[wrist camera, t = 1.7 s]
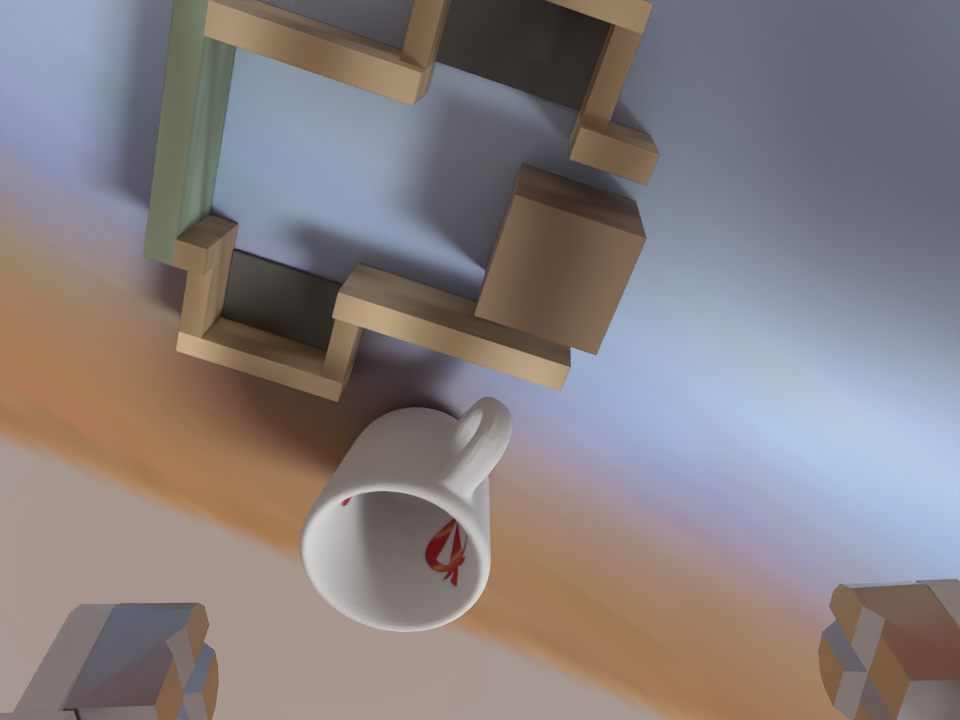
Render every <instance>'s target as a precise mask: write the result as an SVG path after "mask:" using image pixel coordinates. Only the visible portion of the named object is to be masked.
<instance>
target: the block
mask: <svg viewBox="0 0 960 720" xmlns="http://www.w3.org/2000/svg"><path fill="white" fill-rule="evenodd" d="M645 241H646V235H645V232H644V228H643V225H642V221H641V218H640V214H639V211H638V207H637V204H636V201H633V200H630V199H627V198H624V197H621V196H618V195H615V194H612V193H609V192H606V191H603V190H600V189H597V188H594V187H591V186H588V185H585V184H582V183H579V182H576V181H573V180H570V179H567V178H565V177H562V176H559V175H556V174H553V173H550V172H547V171H544V170H541V169H538V168H535V167H532V166H529V165H526V164H523V163H522V164H521V167H520V170H519V173H518V176H517V179H516V182H515V185H514V188H513V191H512V194H511V197H510V200H509V203H508V206H507V209H506V212H505V215H504V218H503V221H502V224H501V227H500V230H499V233H498V236H497V239H496V242H495V245H494V248H493V251H492V254H491V257H490V259H489V262H488V265H487V268H486V271H485V275H484V279H483V283H482V287H481V291H480V295H479V299H478V303H477V307H476V311H475V315H474V316H477V317H480V318H484V319H487V320H490V321H493V322H496V323H499V324H502V325H505V326H508V327H511V328H514V329H517V330H520V331H523V332H527V333H530V334H533V335H536V336H539V337H542V338H545V339H548V340H551V341H554V342H557V343H560V344H563V345H566V346H570V347H573V348H576V349H579V350H582V351H585V352H588V353H591V354H594V355H597V352H598V350H599V348H600V345H601V343H602V341H603V338H604V336H605V334H606V331H607V329H608V327H609V324H610V322H611V320H612V317H613V315H614V313H615V311H616V308H617V306H618V304H619V301H620V299H621V297H622V294H623V292H624V290H625V287H626V285H627V283H628V280H629V278H630V276H631V273H632V271H633V269H634V266H635V264H636V262H637V259H638V257H639V255H640V252H641V250H642V248H643V245H644V243H645Z"/></svg>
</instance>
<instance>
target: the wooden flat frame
mask: <svg viewBox="0 0 960 720" xmlns="http://www.w3.org/2000/svg"><path fill="white" fill-rule="evenodd" d="M653 6H654V4H652V3H650V2H648V1H646V0H415V1H414V5H413V9H412V13H411V17H410V21H409V25H408V29H407V33H406V37H405V41H404V45H403V49H402V50H400V49H397V48H395V47H392V46H389V45H386V44H383V43H380V42H377V41H374V40H371V39H368V38H365V37H362V36H360V35H357V34H354V33H351V32H348V31H345V30H342V29H339V28H336V27H333V26H330V25H327V24H325V23H322V22H319V21H316V20H313V19H310V18H307V17H304V16H301V15H298V14H295V13H292V12H290V11H287V10H284V9H281V8H278V7H275V6H272V5H269V4H266V3H263V2H260V1H257V0H174V3H173V12H172V20H171V29H170V37H169V45H168V54H167V62H166V71H165V79H164V88H163V96H162V105H161V113H160V121H159V130H158V138H157V147H156V155H155V164H154V172H153V181H152V189H151V197H150V206H149V214H148V223H147V231H146V240H145V248H144V257H146V258H149V259H152V260H155V261H158V262H161V263H164V264H167V265H170V266H173V267H177V268H180V269H183V270H186V271H188V273H187V280H186V286H185V293H184V300H183V307H182V313H181V320H180V327H179V334H178V341H177V347H176V351H178V352H181V353H185V354H188V355H191V356H194V357H197V358H200V359H204V360H207V361H210V362H213V363H216V364H219V365H223V366H226V367H229V368H232V369H235V370H238V371H241V372H245V373H248V374H251V375H254V376H257V377H260V378H264V379H267V380H270V381H273V382H276V383H279V384H283V385H286V386H289V387H292V388H295V389H298V390H301V391H305V392H308V393H311V394H314V395H317V396H320V397H324V398H327V399H330V400H333V401H336V402H338V400H339V398H340V396H341V394H342V393H343V391H344V389H345V387H346V385H347V383H348V381H349V379H350V377H351V374H352V370H353V366H354V363H355V359H356V355H357V351H358V348H359V344H360V340H361V337H362V333H363V329H364V328H366V329H369V330H372V331H375V332H378V333H381V334H384V335H387V336H391V337H394V338H397V339H400V340H403V341H406V342H409V343H412V344H415V345H418V346H422V347H425V348H428V349H431V350H434V351H437V352H440V353H443V354H446V355H450V356H453V357H456V358H459V359H462V360H465V361H468V362H471V363H474V364H477V365H481V366H484V367H487V368H490V369H493V370H496V371H499V372H502V373H505V374H508V375H512V376H515V377H518V378H521V379H524V380H527V381H530V382H533V383H536V384H539V385H543V386H546V387H549V388H552V389H555V390H558V391H561V389H562V387H563V385H564V382H565V380H566V377H567V375H568V373H569V370H570V368H571V357H570V346H566V345H563V344H560V343H557V342H554V341H551V340H548V339H545V338H542V337H539V336H536V335H533V334H530V333H527V332H523V331H520V330H517V329H514V328H511V327H508V326H505V325H502V324H499V323H496V322H493V321H490V320H487V319H484V318H480V317H477V316H474V315H475V311H476V307H477V303H478V302H476V301H473V300H470V299H467V298H464V297H461V296H458V295H455V294H452V293H449V292H446V291H443V290H440V289H437V288H433V287H430V286H427V285H424V284H421V283H418V282H415V281H412V280H409V279H406V278H403V277H400V276H397V275H394V274H391V273H388V272H384V271H381V270H378V269H375V268H372V267H369V266H366V265H363V264H360V263H358V264H357V265H356V266H355V268H354V269H353V271H352V272H351V274H350V275H349V277H348V278H347V280H346V281H345V283H344V284H343V285H342V284H339V283H336V282H333V281H330V280H327V279H324V278H321V277H318V276H314V275H311V274H308V273H305V272H302V271H299V270H296V269H293V268H290V267H287V266H284V265H281V264H278V263H274V262H271V261H268V260H265V259H262V258H259V257H256V256H253V255H250V254H247V253H244V252H241V251H238V250H234V247H235V241H236V235H237V230H238V223H235V222H232V221H228V220H225V219H222V218H219V217H216V216H213V215H210V211H211V205H212V199H213V192H214V186H215V179H216V173H217V167H218V160H219V154H220V147H221V141H222V135H223V128H224V122H225V115H226V109H227V103H228V96H229V90H230V83H231V77H232V71H233V64H234V58H235V51H236V47H239V48H242V49H245V50H248V51H251V52H254V53H257V54H260V55H263V56H266V57H269V58H272V59H275V60H278V61H281V62H284V63H287V64H290V65H293V66H295V67H298V68H301V69H304V70H307V71H310V72H313V73H316V74H319V75H322V76H325V77H328V78H331V79H334V80H337V81H340V82H343V83H346V84H349V85H352V86H354V87H357V88H360V89H363V90H366V91H369V92H372V93H375V94H378V95H381V96H384V97H387V98H390V99H393V100H396V101H399V102H402V103H405V104H408V105H410V106H413V105H414V104H415V103H416V102H418V101H419V100H420V99H421V98H422V97H423V96H424V95H425V94H426V93H427V92H428V88H429V84H430V80H431V77H432V73H433V69H434V66H435V62H436V61H437V62H440V63H443V64H446V65H449V66H452V67H455V68H457V69H460V70H463V71H466V72H469V73H472V74H475V75H478V76H481V77H484V78H487V79H490V80H492V81H495V82H498V83H501V84H504V85H507V86H510V87H513V88H516V89H519V90H522V91H525V92H527V93H530V94H533V95H536V96H539V97H542V98H545V99H548V100H551V101H554V102H557V103H560V104H562V105H565V106H568V107H571V108H574V109H577V110H580V111H579V113H578V116H577V119H576V122H575V124H574V127H573V130H572V133H571V136H570V138H569V159H570V160H573V161H576V162H579V163H582V164H584V165H587V166H590V167H593V168H596V169H599V170H602V171H605V172H608V173H611V174H614V175H617V176H620V177H623V178H626V179H629V180H632V181H635V182H638V183H641V184H643V185H647V183H648V180H649V178H650V176H651V173H652V171H653V168H654V166H655V164H656V161H657V159H658V156H659V152H658V150H657V148H656V146H655V144H654V142H653V140H652V138H651V136H650V135H648V134H645V133H643V132H640V131H637V130H634V129H631V128H628V127H625V126H622V125H619V124H616V123H613V122H610V119H611V116H612V114H613V111H614V109H615V106H616V103H617V101H618V98H619V95H620V93H621V90H622V87H623V85H624V82H625V80H626V77H627V74H628V72H629V69H630V66H631V64H632V61H633V59H634V56H635V53H636V51H637V48H638V45H639V43H640V40H641V37H642V35H643V32H644V30H645V27H646V24H647V22H648V19H649V16H650V14H651V11H652V8H653Z"/></svg>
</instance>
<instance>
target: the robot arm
mask: <svg viewBox="0 0 960 720" xmlns="http://www.w3.org/2000/svg"><path fill="white" fill-rule="evenodd" d="M829 607H830V609H831V611H832V612H833V614H834V616H835V618H836V620H835V621H834V622H833V623H832V624H831V625H830V626H829V627H827V628H826V629H825V630H824V631H823V632H822V636H821V641H820V646H819V650H818V654H819V666H820V674H821V677H822V681H823V684H824V687H825V690H826V692H827V694H828V696H829V698H830V700H831V703H832V705H833V707H835V708H836V709H837V710H839V711H840V712H841V713H843V714H844V715H845V716H847V717H848V718H849V719H851V720H960V581H959V580H957V579H941V580H918V581H915V582H914V581H898V582H872V583H846V584H839V585H838V587H837V588H836V589H835V590H834V591H833V594H832V598H831V601H830V605H829ZM208 627H209V622H208V618H207V614H206V611H205V607H204V605H202V604H200V603H121V604H80V605H79V606H78V607H76V608H75V609H74V610H73V611H71V613H70V614H69V615H68V617H67V619H66V620H65V622H64V624H63V625H62V627H61V629H60V631H59V633H58V634H57V636H56V638H55V639H54V641H53V643H52V645H51V646H50V648H49V650H48V652H47V654H46V655H45V657H44V659H43V661H42V662H41V664H40V666H39V667H38V669H37V671H36V673H35V674H34V676H33V678H32V680H31V681H30V683H29V685H28V687H27V689H26V690H25V692H24V694H23V695H22V697H21V699H20V701H19V702H18V704H17V706H16V708H15V710H14V711H13V713H0V720H212V718H213V714H214V711H215V707H216V700H217V692H218V684H219V681H218V664H217V659H216V654H215V650H214V649H212V648H211V647H210V646H208V645H207V644H206V643H205V642H204V639H205V636H206V633H207V630H208Z"/></svg>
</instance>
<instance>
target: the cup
mask: <svg viewBox="0 0 960 720" xmlns="http://www.w3.org/2000/svg"><path fill="white" fill-rule="evenodd" d="M511 431H512V417H511V414H510V412H509V410H508V408H507V407H506V406H504V405H503V404H502V403H501V402H500V401H498V400H497V399H495V398H492V397H485V398H482V399H480V400H479V401H477V402H476V403H475V404H474V405H473V406H472V407H471V408H470V409H469V410H468V411H467V412H466V413H465V414H464V415H463V416H462V417H461V418H460V419H459V421H458V420H457V419H455V418H454V417H452V416H450V415H448V414H446V413H443V412H440V411H438V410H434V409H429V408H421V407H410V408H403V409H398V410H394V411H391V412H389V413H386V414H384V415H383V416H381V417H379V418H378V419H376V420H375V421H373V422H372V423H371V424H370V425H369V426H367V427H366V428H365V429H364V431H363V432H362V433H361V434H360V435H359V437H358V438H357V439H356V441H355V442H354V444H353V445H352V447H351V448H350V450H349V451H348V453H347V454H346V456H345V457H344V459H343V460H342V462H341V463H340V465H339V466H338V468H337V470H336V471H335V473H334V474H333V476H332V477H331V479H330V480H329V482H328V483H327V485H326V486H325V488H324V489H323V491H322V492H321V494H320V495H319V497H318V499H317V500H316V502H315V503H314V505H313V506H312V508H311V509H310V511H309V513H308V515H307V517H306V519H305V521H304V524H303V527H302V531H301V536H300V555H301V561H302V564H303V567H304V570H305V572H306V574H307V577H308V579H309V580H310V582H311V584H312V585H313V587H314V588H315V589H316V591H317V592H318V593H319V594H320V596H321V597H322V598H324V599H325V600H326V601H327V602H328V603H329V604H330V605H331V606H332V607H334V608H335V609H336V610H338V611H339V612H341V613H342V614H344V615H346V616H347V617H349V618H351V619H353V620H355V621H357V622H360V623H363V624H365V625H368V626H371V627H375V628H379V629H384V630H389V631H401V632H408V631H422V630H426V629H431V628H435V627H439V626H442V625H444V624H447V623H449V622H451V621H453V620H455V619H456V618H458V617H460V616H461V615H462V614H464V613H465V612H466V611H467V610H469V609H470V608H471V607H472V606H473V605H474V603H475V602H476V601H477V600H478V598H479V597H480V595H481V594H482V592H483V590H484V588H485V585H486V583H487V580H488V576H489V571H490V518H489V480H488V474H489V473H490V472H491V470H492V469H493V468H494V466H495V465H496V464H497V463H498V461H499V460H500V458H501V457H502V455H503V453H504V451H505V449H506V447H507V445H508V442H509V439H510V436H511Z"/></svg>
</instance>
